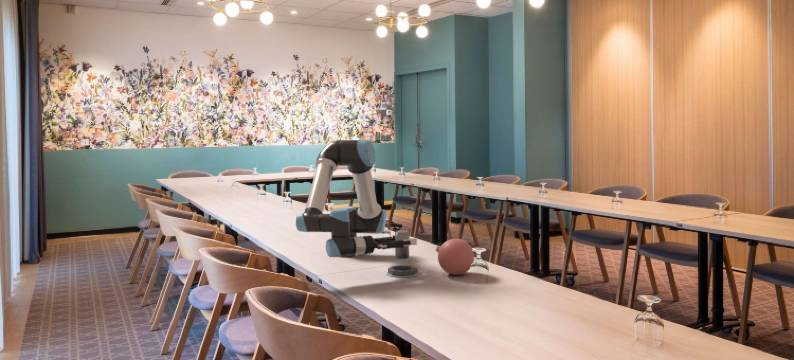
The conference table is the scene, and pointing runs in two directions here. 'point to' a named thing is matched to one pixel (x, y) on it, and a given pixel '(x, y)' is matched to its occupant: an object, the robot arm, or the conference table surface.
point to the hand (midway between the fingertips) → (412, 240)
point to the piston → (401, 252)
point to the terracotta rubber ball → (455, 256)
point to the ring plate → (402, 271)
